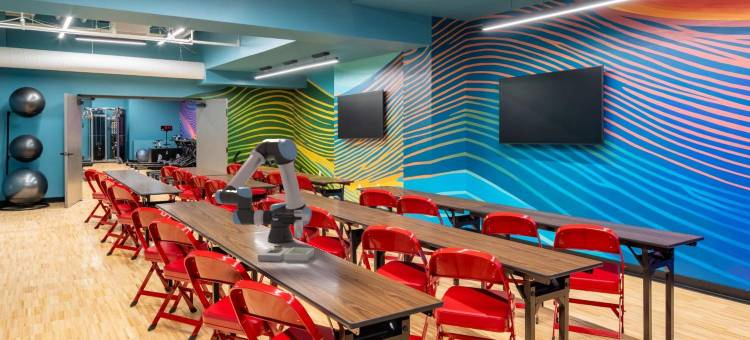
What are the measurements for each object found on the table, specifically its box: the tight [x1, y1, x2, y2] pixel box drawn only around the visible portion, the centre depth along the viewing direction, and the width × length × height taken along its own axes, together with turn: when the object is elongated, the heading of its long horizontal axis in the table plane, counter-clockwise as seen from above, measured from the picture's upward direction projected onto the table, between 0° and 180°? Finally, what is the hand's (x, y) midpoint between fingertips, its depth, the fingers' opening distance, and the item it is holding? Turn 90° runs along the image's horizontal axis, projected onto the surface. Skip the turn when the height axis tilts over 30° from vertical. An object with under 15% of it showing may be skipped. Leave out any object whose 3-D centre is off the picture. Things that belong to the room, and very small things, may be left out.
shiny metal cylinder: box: [293, 210, 304, 239], centre depth 254 cm, size 4×4×14 cm
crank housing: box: [257, 245, 291, 262], centre depth 258 cm, size 16×12×5 cm
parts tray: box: [283, 247, 315, 263], centre depth 255 cm, size 14×12×4 cm
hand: (308, 217), depth 254 cm, fingers closed on shiny metal cylinder, 4 cm apart
